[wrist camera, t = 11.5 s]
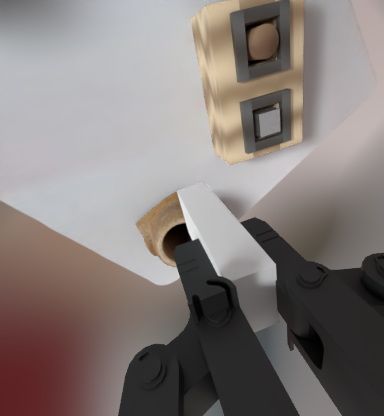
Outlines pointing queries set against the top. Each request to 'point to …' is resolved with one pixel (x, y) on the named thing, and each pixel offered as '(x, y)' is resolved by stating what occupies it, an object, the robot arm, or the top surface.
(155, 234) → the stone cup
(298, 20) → the oak block
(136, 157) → the top surface
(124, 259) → the top surface
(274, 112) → the metal pin
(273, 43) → the walnut dowel
